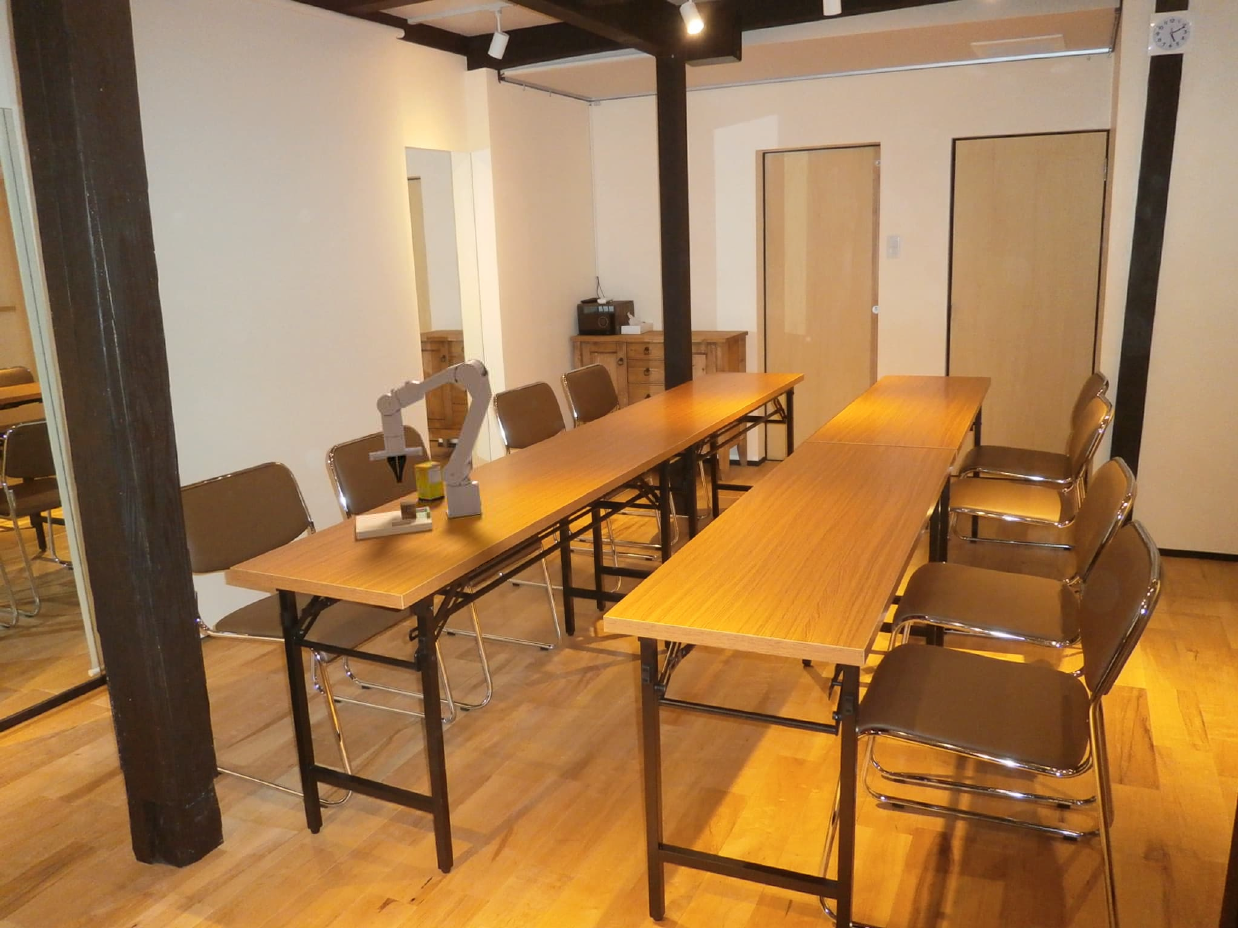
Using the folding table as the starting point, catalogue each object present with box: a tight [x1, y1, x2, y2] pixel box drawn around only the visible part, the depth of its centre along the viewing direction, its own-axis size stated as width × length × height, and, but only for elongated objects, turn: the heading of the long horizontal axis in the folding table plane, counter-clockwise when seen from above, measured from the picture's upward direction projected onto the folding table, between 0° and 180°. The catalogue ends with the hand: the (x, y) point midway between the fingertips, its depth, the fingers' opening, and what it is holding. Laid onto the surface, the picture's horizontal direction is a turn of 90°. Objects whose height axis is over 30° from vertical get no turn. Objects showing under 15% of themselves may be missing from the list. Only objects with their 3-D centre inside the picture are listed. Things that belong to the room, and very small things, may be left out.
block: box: [399, 500, 417, 520], centre depth 270 cm, size 4×4×4 cm
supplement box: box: [413, 461, 446, 503], centre depth 295 cm, size 6×6×11 cm
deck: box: [355, 506, 434, 540], centre depth 269 cm, size 20×16×4 cm
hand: (399, 481), depth 278 cm, fingers closed
